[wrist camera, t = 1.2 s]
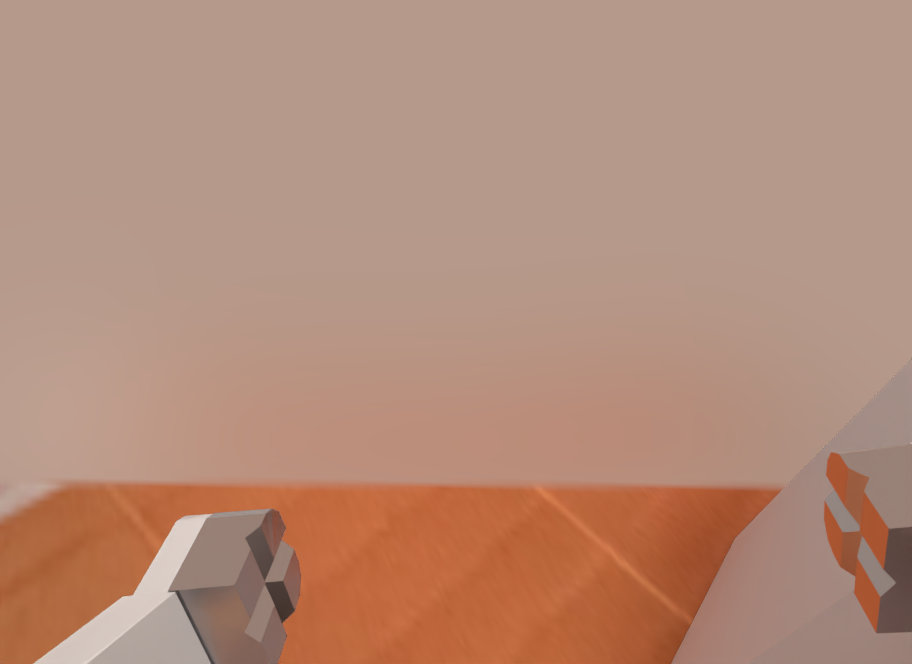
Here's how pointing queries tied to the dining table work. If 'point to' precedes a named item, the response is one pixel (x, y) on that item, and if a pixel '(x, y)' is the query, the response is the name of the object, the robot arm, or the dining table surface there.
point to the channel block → (800, 568)
